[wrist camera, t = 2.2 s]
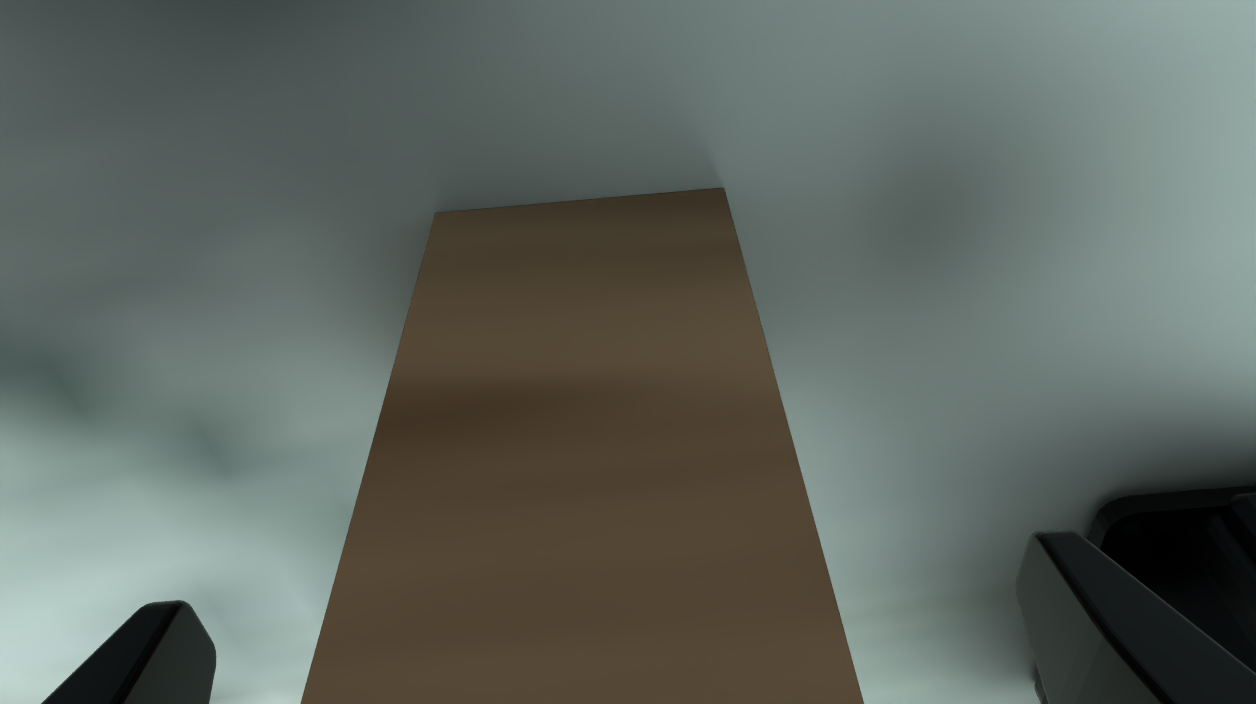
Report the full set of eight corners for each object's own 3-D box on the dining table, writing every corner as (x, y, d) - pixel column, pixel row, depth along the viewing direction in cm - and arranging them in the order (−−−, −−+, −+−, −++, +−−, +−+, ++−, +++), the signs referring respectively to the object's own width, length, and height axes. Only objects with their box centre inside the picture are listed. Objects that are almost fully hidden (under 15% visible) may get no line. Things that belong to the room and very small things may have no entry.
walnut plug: (726, 405, 15) (862, 1104, 8) (485, 426, 15) (392, 1137, 8) (723, 187, 12) (921, 913, 5) (435, 212, 12) (228, 963, 5)
